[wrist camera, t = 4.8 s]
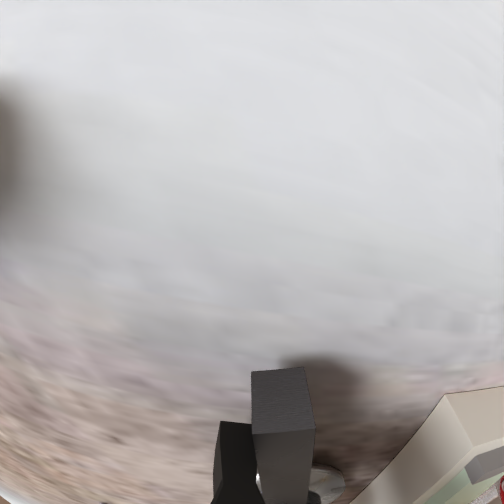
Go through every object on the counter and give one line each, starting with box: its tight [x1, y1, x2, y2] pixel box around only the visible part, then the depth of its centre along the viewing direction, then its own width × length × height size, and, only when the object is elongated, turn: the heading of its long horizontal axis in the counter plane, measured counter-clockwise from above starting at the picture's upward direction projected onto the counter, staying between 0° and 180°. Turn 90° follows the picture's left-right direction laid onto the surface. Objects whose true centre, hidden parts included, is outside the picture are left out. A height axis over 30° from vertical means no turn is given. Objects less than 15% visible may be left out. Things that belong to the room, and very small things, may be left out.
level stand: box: [349, 386, 504, 504], centre depth 14 cm, size 18×7×5 cm, turn 170°
